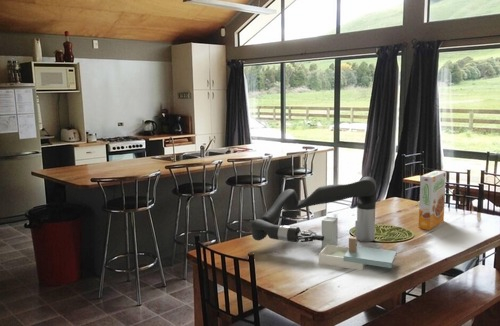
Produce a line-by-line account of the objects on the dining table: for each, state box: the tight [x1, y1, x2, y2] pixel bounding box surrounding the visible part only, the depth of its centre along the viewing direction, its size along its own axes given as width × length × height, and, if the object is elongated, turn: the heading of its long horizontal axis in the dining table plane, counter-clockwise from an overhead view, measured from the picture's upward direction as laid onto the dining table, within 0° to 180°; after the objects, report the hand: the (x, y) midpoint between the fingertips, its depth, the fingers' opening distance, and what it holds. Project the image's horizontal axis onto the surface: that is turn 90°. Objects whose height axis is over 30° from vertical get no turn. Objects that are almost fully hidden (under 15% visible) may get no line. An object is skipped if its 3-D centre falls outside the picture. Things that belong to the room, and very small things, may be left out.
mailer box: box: [318, 245, 367, 271], centre depth 209 cm, size 20×14×4 cm
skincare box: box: [321, 216, 339, 250], centre depth 227 cm, size 8×6×15 cm
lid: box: [344, 235, 398, 269], centre depth 203 cm, size 20×16×9 cm
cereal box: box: [418, 170, 447, 231], centre depth 262 cm, size 22×6×30 cm, turn 138°
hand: (323, 238), depth 212 cm, fingers closed
